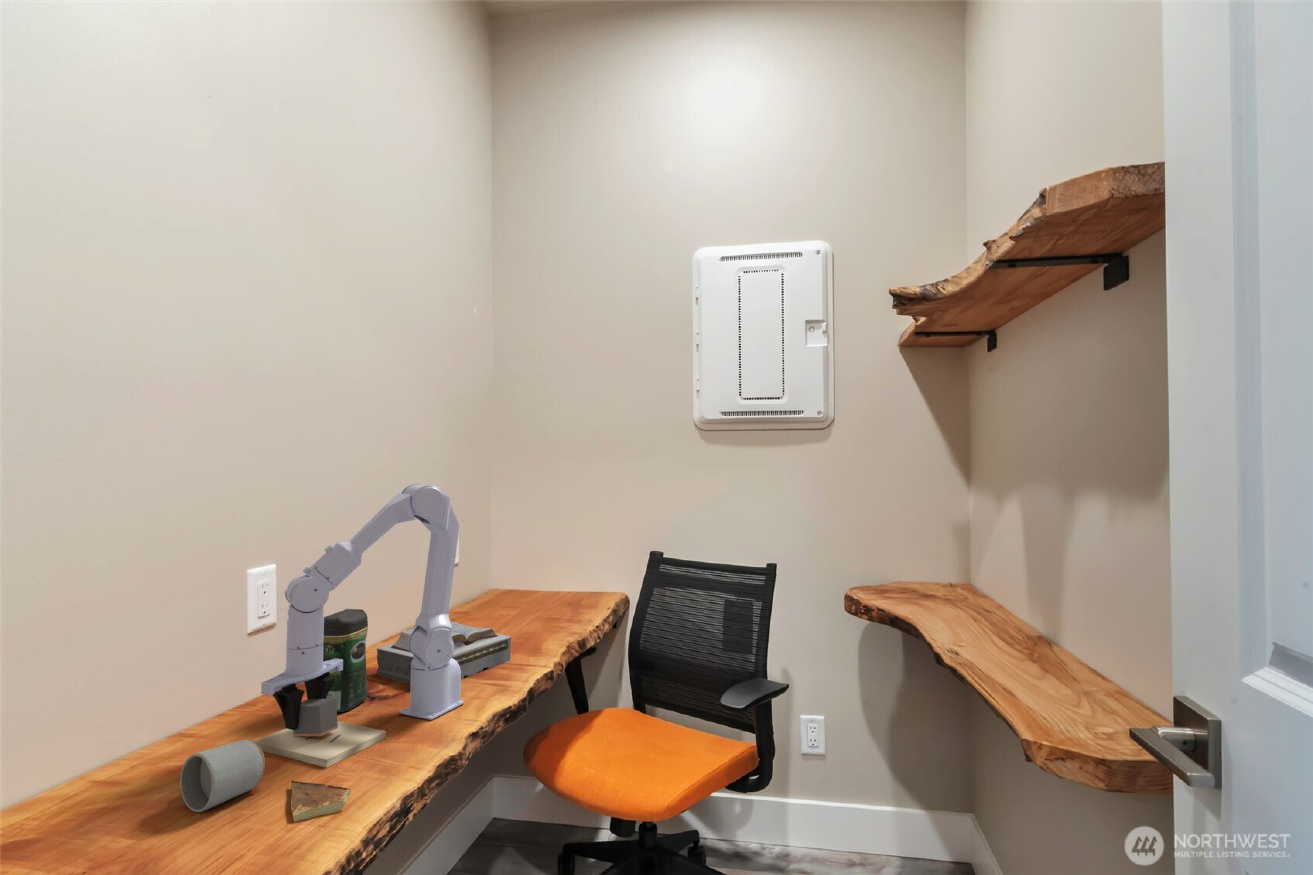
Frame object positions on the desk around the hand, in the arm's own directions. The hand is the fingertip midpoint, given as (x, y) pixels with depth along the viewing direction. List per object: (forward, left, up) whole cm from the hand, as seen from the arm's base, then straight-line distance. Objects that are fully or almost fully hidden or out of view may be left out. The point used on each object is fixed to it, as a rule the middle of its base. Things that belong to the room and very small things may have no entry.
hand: (303, 723), depth 112 cm
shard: (+15, +20, -3) cm, 25 cm away
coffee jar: (-14, -7, -3) cm, 16 cm away
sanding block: (0, +3, -1) cm, 3 cm away
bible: (-41, -5, -3) cm, 42 cm away
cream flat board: (0, +4, -3) cm, 5 cm away
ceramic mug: (+19, +6, -3) cm, 20 cm away
